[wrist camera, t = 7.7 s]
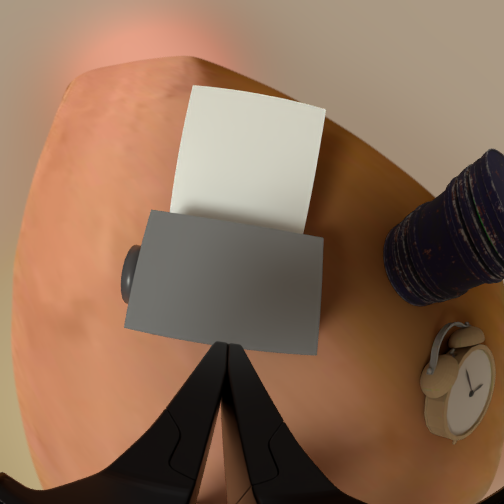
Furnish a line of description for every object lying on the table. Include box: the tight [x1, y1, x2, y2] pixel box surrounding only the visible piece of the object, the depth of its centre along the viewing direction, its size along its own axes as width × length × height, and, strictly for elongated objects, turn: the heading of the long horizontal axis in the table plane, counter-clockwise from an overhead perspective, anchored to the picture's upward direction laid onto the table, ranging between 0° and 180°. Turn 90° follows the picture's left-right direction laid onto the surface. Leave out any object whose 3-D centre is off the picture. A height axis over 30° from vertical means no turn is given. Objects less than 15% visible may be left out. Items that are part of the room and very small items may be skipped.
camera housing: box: [121, 210, 323, 355], centre depth 20 cm, size 8×13×6 cm, turn 83°
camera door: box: [170, 85, 326, 234], centre depth 22 cm, size 2×11×12 cm
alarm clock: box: [420, 322, 496, 445], centre depth 21 cm, size 11×5×15 cm
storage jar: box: [384, 149, 504, 306], centre depth 20 cm, size 10×10×15 cm
